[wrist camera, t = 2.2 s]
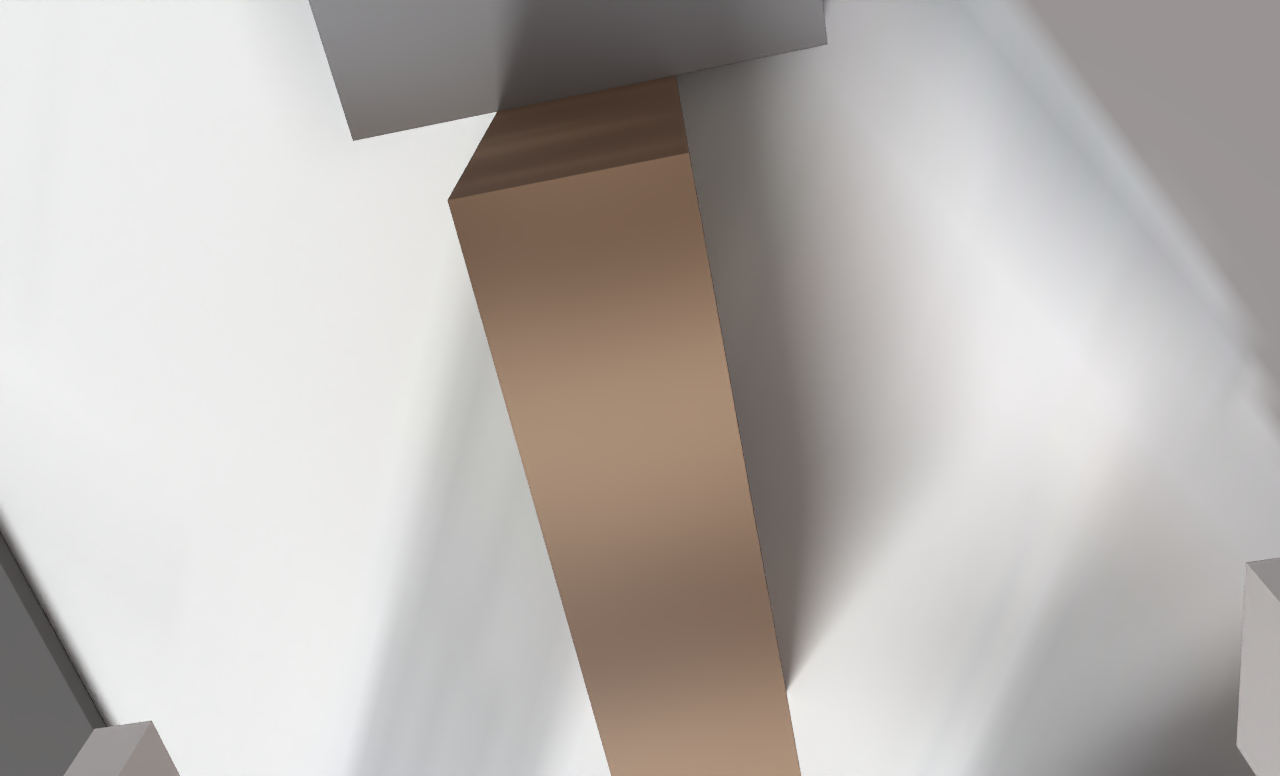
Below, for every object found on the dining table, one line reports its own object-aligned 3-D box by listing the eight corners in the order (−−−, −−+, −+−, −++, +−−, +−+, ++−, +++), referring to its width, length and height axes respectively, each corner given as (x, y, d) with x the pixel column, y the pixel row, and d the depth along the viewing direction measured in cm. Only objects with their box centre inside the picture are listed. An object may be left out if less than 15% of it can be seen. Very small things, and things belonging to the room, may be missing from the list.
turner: (896, 674, 24) (970, 907, 19) (549, 727, 25) (524, 967, 19) (724, -761, 14) (779, -1158, 8) (137, -602, 14) (-162, -877, 9)
